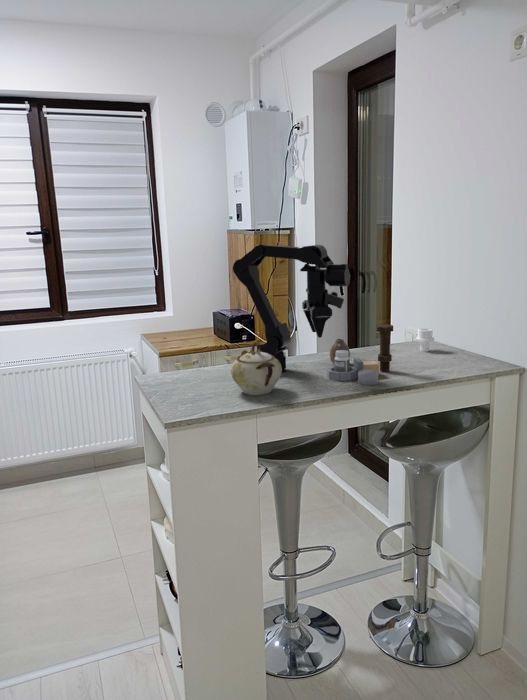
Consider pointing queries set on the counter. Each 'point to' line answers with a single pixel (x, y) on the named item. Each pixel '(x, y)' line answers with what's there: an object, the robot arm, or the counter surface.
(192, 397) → the counter surface
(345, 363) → the pill bottle
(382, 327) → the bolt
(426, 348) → the pipe fitting
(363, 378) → the grey rounded lump
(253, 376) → the sugar bowl
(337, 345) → the vase
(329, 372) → the octagonal ring stamp
